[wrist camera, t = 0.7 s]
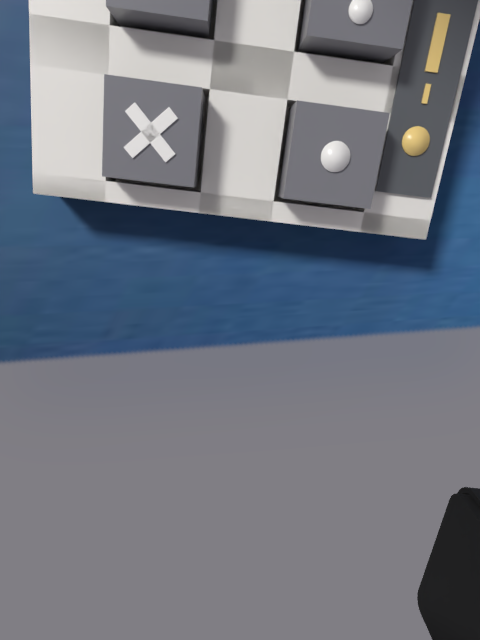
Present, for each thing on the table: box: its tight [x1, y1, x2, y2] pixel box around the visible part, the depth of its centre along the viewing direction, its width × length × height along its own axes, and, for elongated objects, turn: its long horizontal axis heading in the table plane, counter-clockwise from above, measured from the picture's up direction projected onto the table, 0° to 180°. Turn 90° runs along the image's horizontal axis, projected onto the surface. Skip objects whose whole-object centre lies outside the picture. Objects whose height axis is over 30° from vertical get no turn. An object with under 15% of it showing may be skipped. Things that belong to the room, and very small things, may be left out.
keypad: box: [29, 0, 480, 240], centre depth 26 cm, size 16×24×4 cm, turn 83°
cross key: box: [102, 74, 205, 187], centre depth 25 cm, size 5×5×3 cm
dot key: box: [277, 100, 390, 209], centre depth 26 cm, size 5×5×3 cm
